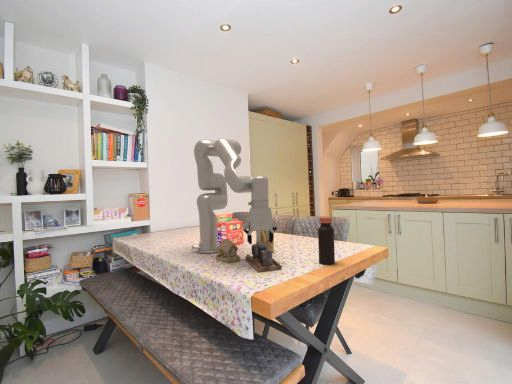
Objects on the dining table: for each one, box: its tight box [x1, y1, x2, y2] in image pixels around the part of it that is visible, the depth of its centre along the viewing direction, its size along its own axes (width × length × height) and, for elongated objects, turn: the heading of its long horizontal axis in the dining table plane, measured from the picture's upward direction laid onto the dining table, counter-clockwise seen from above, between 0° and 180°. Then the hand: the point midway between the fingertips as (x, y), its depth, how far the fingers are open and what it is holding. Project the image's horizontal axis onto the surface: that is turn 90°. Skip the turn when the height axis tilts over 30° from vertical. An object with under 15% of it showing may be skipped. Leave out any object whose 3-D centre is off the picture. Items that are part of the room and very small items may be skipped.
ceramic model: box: [215, 238, 241, 264], centre depth 131 cm, size 14×11×10 cm
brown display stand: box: [245, 243, 282, 273], centre depth 120 cm, size 10×20×8 cm, turn 17°
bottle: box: [317, 216, 336, 266], centre depth 119 cm, size 7×7×20 cm
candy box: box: [255, 230, 275, 253], centre depth 141 cm, size 9×4×15 cm, turn 129°
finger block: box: [255, 241, 269, 263], centre depth 120 cm, size 4×6×8 cm
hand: (260, 242), depth 121 cm, fingers open, 9 cm apart
